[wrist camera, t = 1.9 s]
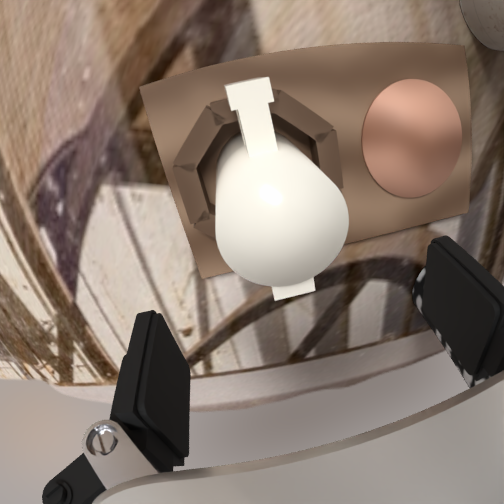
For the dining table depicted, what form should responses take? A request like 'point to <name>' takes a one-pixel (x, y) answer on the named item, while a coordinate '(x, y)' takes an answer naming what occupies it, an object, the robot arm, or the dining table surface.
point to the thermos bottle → (485, 21)
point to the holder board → (329, 132)
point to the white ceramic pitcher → (273, 201)
